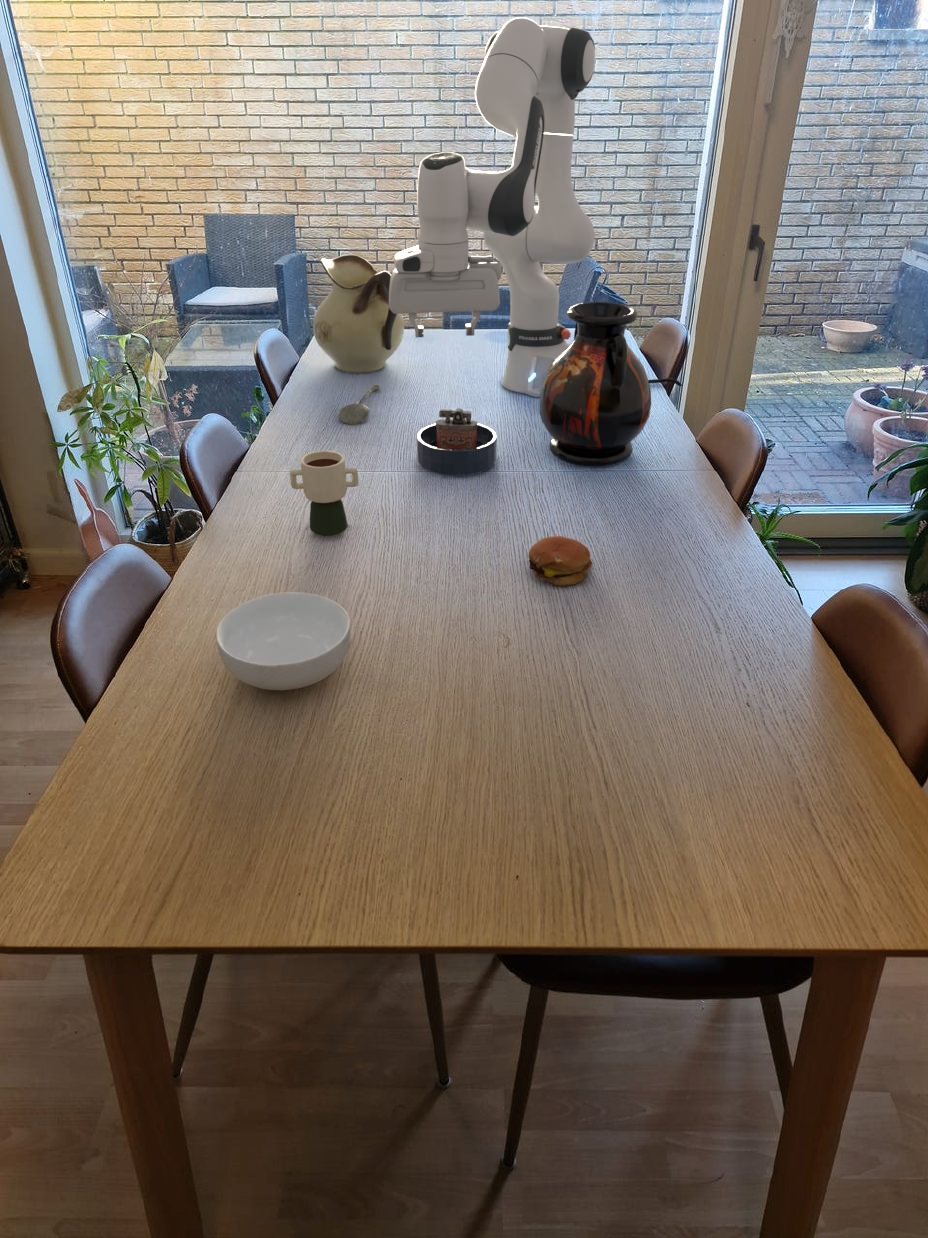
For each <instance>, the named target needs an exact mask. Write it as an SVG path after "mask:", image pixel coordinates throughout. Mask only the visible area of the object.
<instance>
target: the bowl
mask: <svg viewBox="0 0 928 1238" xmlns="http://www.w3.org/2000/svg"><path fill="white" fill-rule="evenodd" d="M497 442H498V436H497V433H496V431H494V430H493V429H492V428H491V427H488V426H487V425H484V424H482V423H478V427H477V443H476V448H472V449H466V450H450V449H441V448H437V427H436V423H433V424H430V425H427V426H425V427H423V428H421V429H420V430H419V431H418V433H417V434H416V443H417V444H416V445H417V447H416V448H417V462H418V464H419V466H421V468H423V469H424V470H426V471H428V472H431V473H435V474H439V475H444V476H445V475H446V476H468V475H469V476H470V475H475V474H479V473H482V472H485V471H488V470H489V469H491V468H492V467H493V466H495V464H496V462H497V445H498V443H497Z"/></svg>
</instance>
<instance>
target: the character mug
mask: <svg viewBox="0 0 928 1238" xmlns="http://www.w3.org/2000/svg"><path fill="white" fill-rule="evenodd" d="M347 475H351V480H350V481H348V479H347ZM297 476H301V480H302V481H301V482H298V481H297ZM289 479H290V486H291V488H292V489H294V490H303V494H304V496H305V498H306V499H307V500H308V501H310V504H309V505H310V507H309V529H310V531H311V532H312V533H313V534H314V535H317V536H321V537H324V538H325V537H334V536H336V535H339V534H342V533H343V532H344V531H347V530H346V529H347V528H348V525H349V524H348V520H347V515H346V510H345V505H344V502H343V500H342V499H343V498H344V497H346V494H347V491H348V488H355V487H358V486H359V471H358V469H357V468H356V467H347V465H346V458H345V456H344V455H343V454H342V453H341V452H338V451H335V450H317V451H312V452H309V453H307V454H305V455H303V456H302V457H301V458H300V469H292V470H290V471H289Z"/></svg>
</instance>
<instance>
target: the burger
mask: <svg viewBox="0 0 928 1238" xmlns="http://www.w3.org/2000/svg"><path fill="white" fill-rule="evenodd" d="M527 557H528V563H529V566H528V567H529V568H528V569H529V570H532V573H533V574H534V576H535V577H536V578H538V579H539V580H541V581H542V582H550V583H552V584H553V585H555V586H557V587H566V586H567V587H568V586H574V585H575V584H576V585H577V584H579V583H581V582H583V581H584V579H586V577H587V576H588V573H589V572H590V569H592V567H593V562H592V559H591V552H590V550H589V548H588V547H587V546H586V545H585V544H583V543H582V542H581V541H579V540H577V539H573V538H571V537H566V536H563V535H553V536H546V537H543V538H541V539H539V540H538V541H537V542H535V543H534V544H533V545H532V546H531V547H530V549H529V551H528V555H527Z"/></svg>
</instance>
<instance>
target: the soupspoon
mask: <svg viewBox="0 0 928 1238" xmlns="http://www.w3.org/2000/svg"><path fill="white" fill-rule="evenodd" d="M380 388H381V387H380V385H379V384H377V383H375V384H373V385H372V387H371V388H370V389H369V390H368V391H367V392H366V393H365V394H364V395H363V396H362V397H361V399H360V400H359V401H358V402H354V403H353V402H352V403H350V404H347V405H345V406H343V407H341V409H340V410H339V412H338V418H339V420H340V421H341V422H342V423H345V424H347V425H356V424H361V423H362V422H364V421H365V420H366V419H368V417H369V414H370V408H369V406H367V405H366V404H363V403H364V401H365V400H366V399H367V398H368V396H370V394H371V393H372V392H378V391H380Z"/></svg>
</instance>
